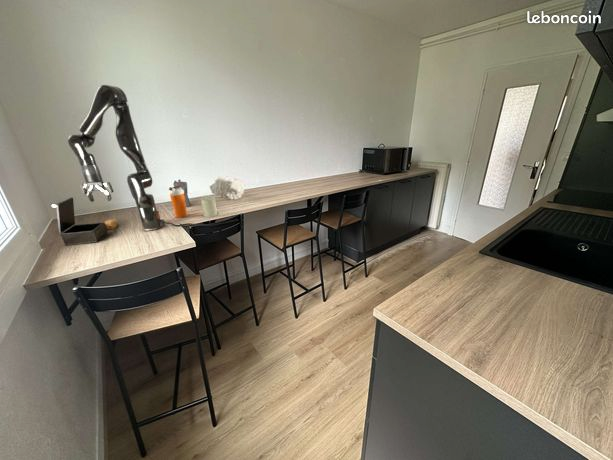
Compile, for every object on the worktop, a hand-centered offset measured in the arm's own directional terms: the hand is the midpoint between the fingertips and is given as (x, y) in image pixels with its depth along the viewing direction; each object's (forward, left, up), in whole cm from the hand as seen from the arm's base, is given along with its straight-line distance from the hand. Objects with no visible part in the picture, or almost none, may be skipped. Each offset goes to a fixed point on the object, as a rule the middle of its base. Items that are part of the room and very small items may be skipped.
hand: (101, 200), depth 145 cm
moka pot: (-35, -35, -17) cm, 52 cm away
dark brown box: (+5, +15, -17) cm, 23 cm away
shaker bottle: (-38, -11, -17) cm, 43 cm away
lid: (+10, +15, -2) cm, 18 cm away
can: (-57, -8, -17) cm, 60 cm away
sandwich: (0, 0, -17) cm, 17 cm away
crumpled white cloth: (-68, -46, -17) cm, 84 cm away
